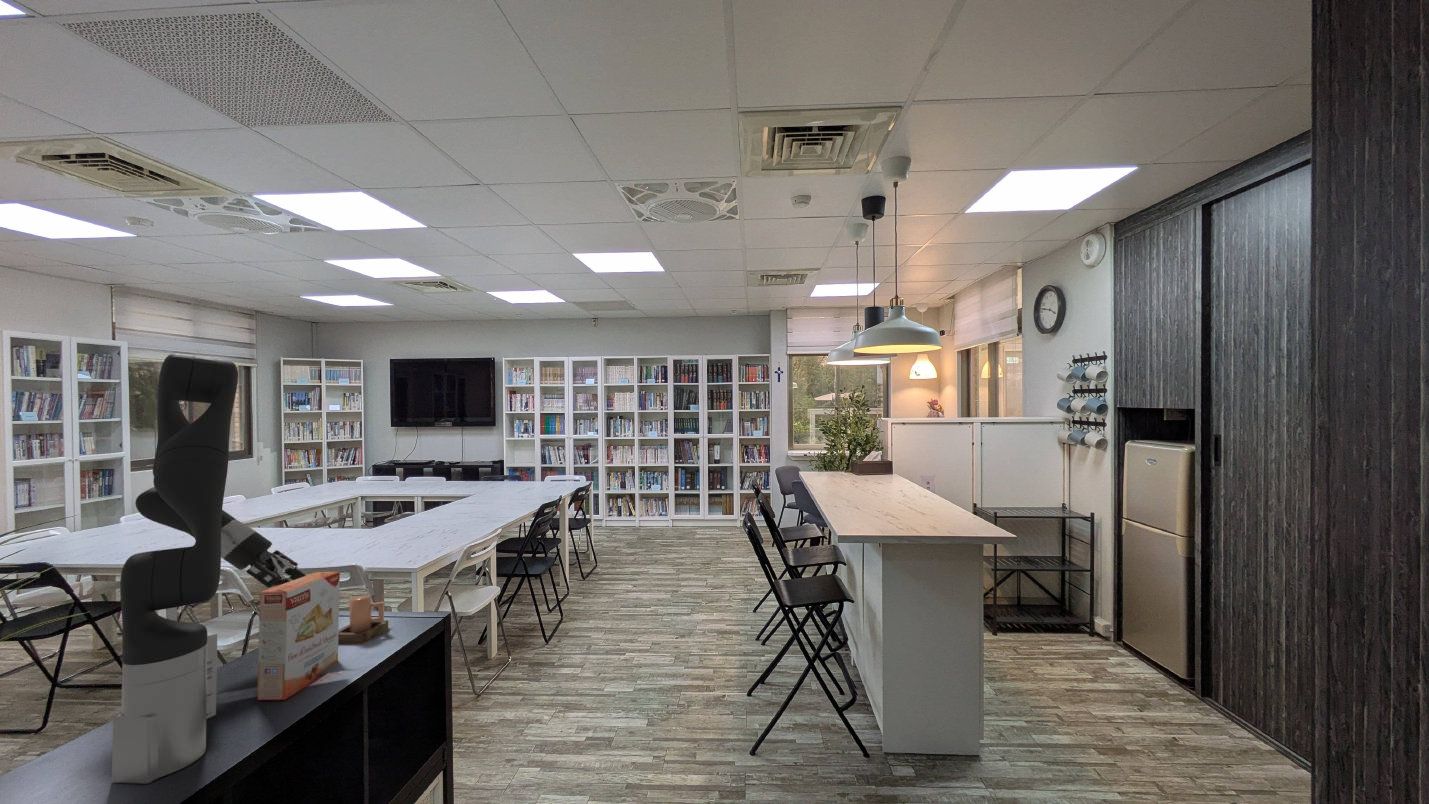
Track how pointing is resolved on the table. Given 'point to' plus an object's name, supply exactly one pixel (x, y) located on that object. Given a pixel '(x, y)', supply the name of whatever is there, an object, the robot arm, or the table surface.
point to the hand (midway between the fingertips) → (301, 587)
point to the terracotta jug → (363, 613)
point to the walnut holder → (364, 637)
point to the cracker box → (297, 634)
